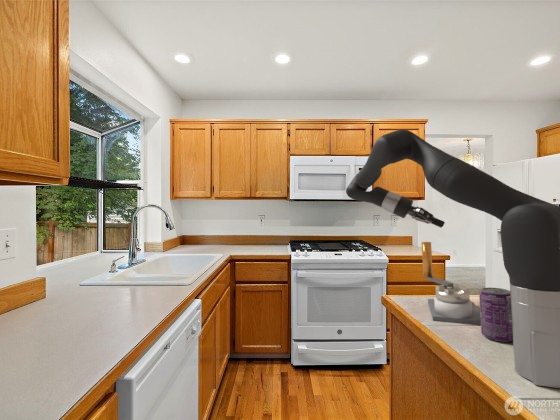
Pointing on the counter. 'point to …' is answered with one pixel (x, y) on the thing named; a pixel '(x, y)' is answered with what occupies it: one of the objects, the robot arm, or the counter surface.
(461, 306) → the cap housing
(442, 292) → the hub and bar
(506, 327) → the beverage can
